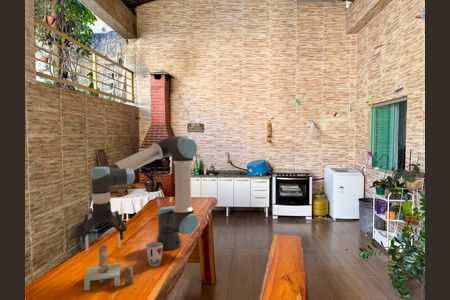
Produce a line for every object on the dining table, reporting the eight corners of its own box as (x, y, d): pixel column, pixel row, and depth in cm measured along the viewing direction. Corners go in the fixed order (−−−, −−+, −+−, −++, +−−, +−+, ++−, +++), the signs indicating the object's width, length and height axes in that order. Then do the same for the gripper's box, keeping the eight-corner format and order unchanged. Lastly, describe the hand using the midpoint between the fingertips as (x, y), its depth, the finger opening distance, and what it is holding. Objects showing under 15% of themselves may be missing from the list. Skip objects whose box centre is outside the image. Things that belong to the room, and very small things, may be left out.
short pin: (133, 281, 138) (132, 266, 138) (132, 285, 135) (132, 269, 134) (125, 282, 137) (124, 267, 137) (124, 286, 134) (124, 270, 134)
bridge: (120, 273, 145) (120, 263, 145) (119, 285, 134) (119, 274, 134) (89, 277, 142) (88, 267, 141) (84, 290, 130) (84, 278, 130)
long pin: (107, 279, 140) (107, 244, 139) (106, 283, 137) (106, 247, 136) (99, 280, 139) (99, 245, 138) (98, 283, 136) (98, 248, 135)
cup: (148, 268, 151) (147, 248, 151) (145, 262, 159) (145, 243, 158) (164, 265, 154) (164, 246, 154) (161, 259, 162) (160, 241, 161)
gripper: (131, 197, 143) (133, 242, 144) (72, 202, 136) (75, 248, 138) (130, 201, 136) (132, 248, 137) (68, 206, 129) (71, 255, 130)
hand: (103, 248), depth 137 cm, fingers open, 13 cm apart
